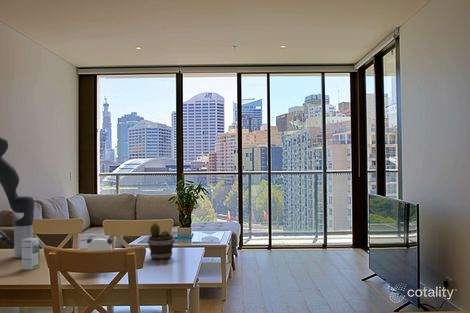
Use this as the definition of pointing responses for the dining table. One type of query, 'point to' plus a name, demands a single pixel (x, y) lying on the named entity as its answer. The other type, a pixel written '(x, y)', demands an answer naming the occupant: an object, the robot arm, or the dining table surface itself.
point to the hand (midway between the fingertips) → (13, 245)
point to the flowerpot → (160, 243)
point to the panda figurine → (99, 244)
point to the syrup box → (30, 253)
